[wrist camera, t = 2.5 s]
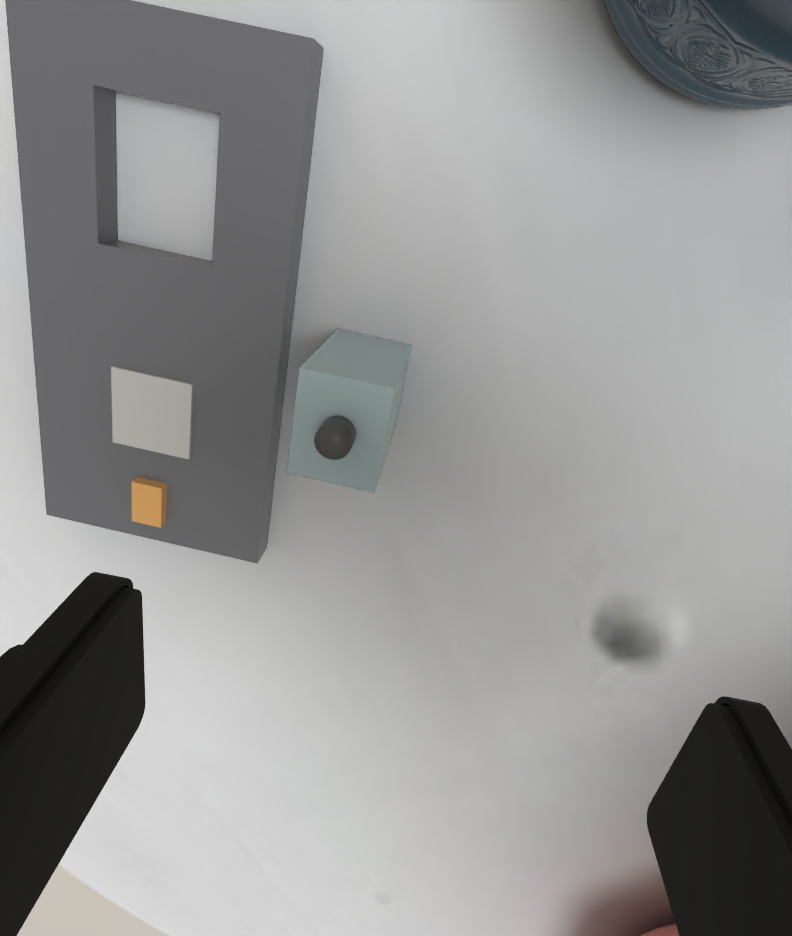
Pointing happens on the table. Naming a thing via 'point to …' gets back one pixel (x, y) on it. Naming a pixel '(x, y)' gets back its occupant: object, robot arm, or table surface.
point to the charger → (347, 409)
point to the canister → (712, 47)
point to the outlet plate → (160, 269)
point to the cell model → (663, 931)
